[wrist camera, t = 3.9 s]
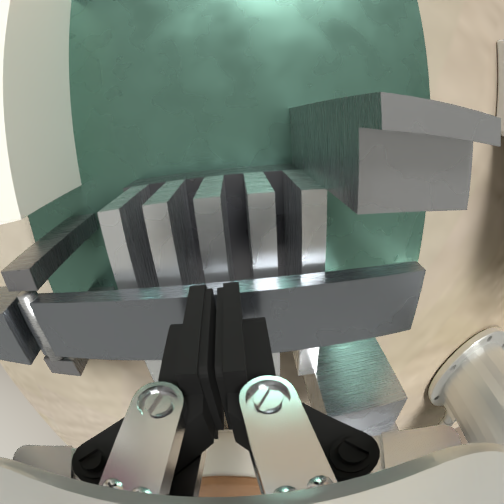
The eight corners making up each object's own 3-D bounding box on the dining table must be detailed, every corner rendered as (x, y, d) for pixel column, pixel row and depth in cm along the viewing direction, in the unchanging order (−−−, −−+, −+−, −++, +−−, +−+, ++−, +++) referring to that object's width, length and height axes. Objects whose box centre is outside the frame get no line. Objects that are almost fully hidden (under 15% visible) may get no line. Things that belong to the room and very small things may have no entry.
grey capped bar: (394, 314, 13) (416, 345, 11) (7, 335, 12) (-11, 360, 10) (407, 246, 11) (438, 272, 9) (-18, 282, 11) (-42, 306, 8)
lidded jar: (291, 426, 27) (304, 501, 19) (248, 462, 31) (253, 523, 23) (194, 407, 25) (189, 494, 16) (168, 447, 29) (162, 513, 20)
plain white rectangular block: (81, 185, 15) (21, 219, 9) (33, 196, 14) (-27, 231, 9) (71, -2, 9) (18, -32, 4) (23, 23, 9) (-35, 8, 4)
